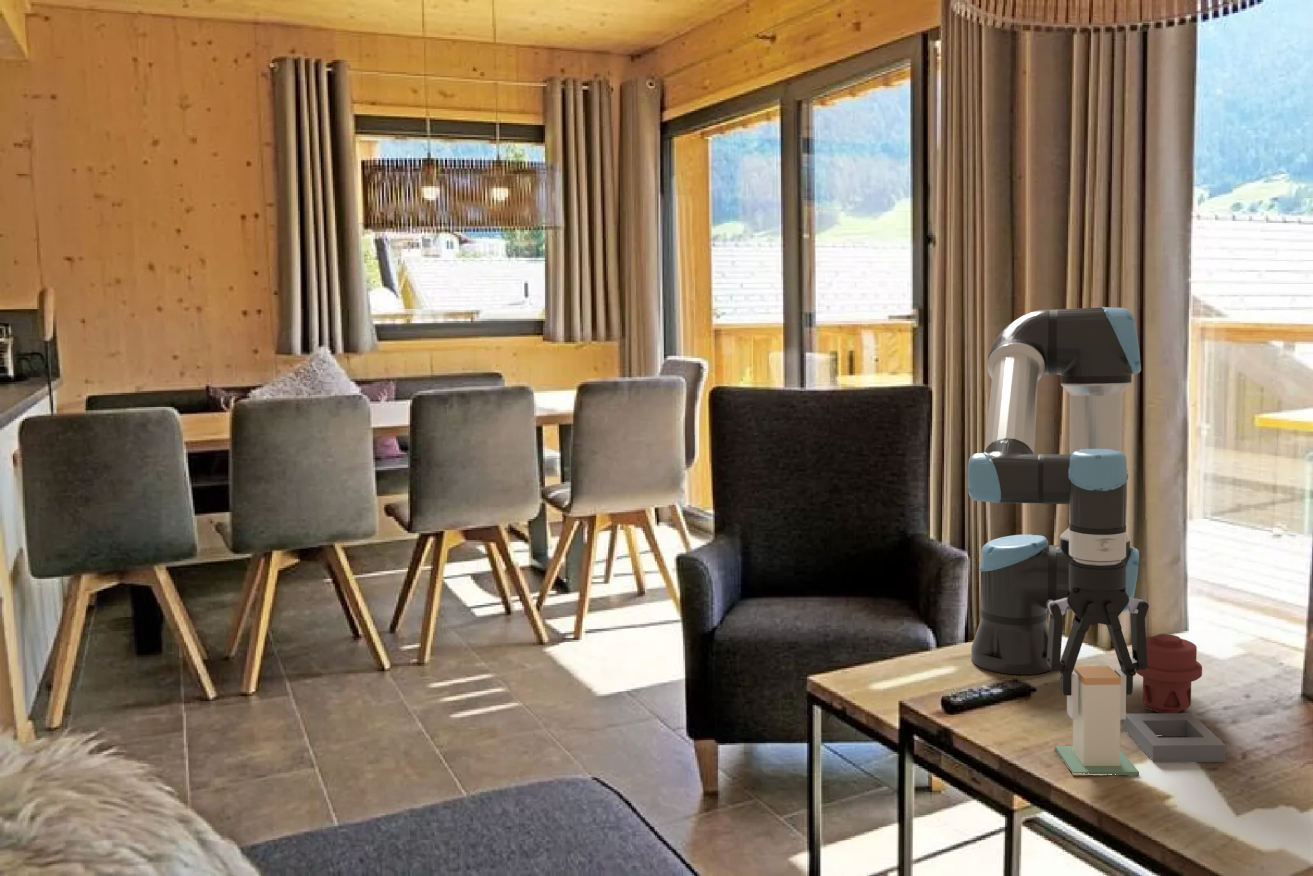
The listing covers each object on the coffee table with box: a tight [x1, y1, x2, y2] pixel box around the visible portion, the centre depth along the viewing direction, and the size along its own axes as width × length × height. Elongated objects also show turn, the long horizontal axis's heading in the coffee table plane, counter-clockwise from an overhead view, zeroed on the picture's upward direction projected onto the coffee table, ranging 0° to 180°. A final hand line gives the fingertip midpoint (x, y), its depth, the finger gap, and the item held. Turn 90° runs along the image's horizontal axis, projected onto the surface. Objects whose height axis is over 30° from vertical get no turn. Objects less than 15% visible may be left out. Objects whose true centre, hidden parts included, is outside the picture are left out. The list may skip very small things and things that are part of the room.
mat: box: [1054, 745, 1140, 776], centre depth 155 cm, size 9×9×1 cm
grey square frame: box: [1123, 712, 1226, 763], centre depth 160 cm, size 12×10×2 cm
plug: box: [1072, 665, 1121, 766], centre depth 154 cm, size 5×5×13 cm
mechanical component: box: [1136, 633, 1203, 713], centre depth 172 cm, size 12×10×10 cm
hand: (1096, 715), depth 154 cm, fingers open, 6 cm apart
